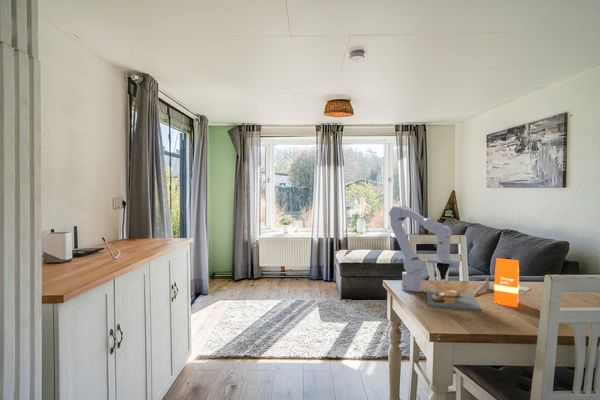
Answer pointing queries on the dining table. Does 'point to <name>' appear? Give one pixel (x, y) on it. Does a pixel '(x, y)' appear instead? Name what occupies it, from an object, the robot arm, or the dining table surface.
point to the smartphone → (524, 288)
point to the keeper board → (454, 301)
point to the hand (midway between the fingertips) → (443, 279)
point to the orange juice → (507, 282)
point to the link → (440, 296)
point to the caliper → (482, 286)
